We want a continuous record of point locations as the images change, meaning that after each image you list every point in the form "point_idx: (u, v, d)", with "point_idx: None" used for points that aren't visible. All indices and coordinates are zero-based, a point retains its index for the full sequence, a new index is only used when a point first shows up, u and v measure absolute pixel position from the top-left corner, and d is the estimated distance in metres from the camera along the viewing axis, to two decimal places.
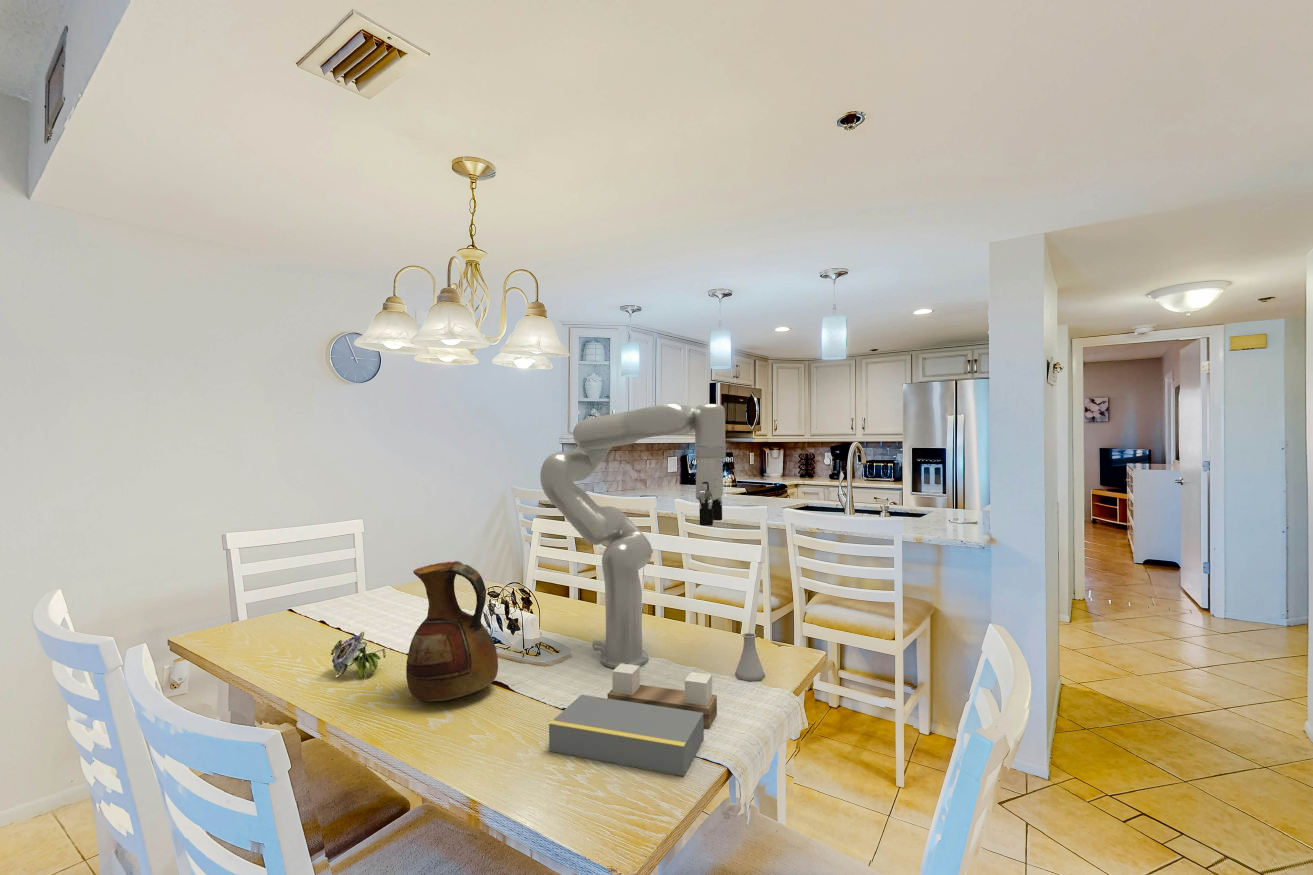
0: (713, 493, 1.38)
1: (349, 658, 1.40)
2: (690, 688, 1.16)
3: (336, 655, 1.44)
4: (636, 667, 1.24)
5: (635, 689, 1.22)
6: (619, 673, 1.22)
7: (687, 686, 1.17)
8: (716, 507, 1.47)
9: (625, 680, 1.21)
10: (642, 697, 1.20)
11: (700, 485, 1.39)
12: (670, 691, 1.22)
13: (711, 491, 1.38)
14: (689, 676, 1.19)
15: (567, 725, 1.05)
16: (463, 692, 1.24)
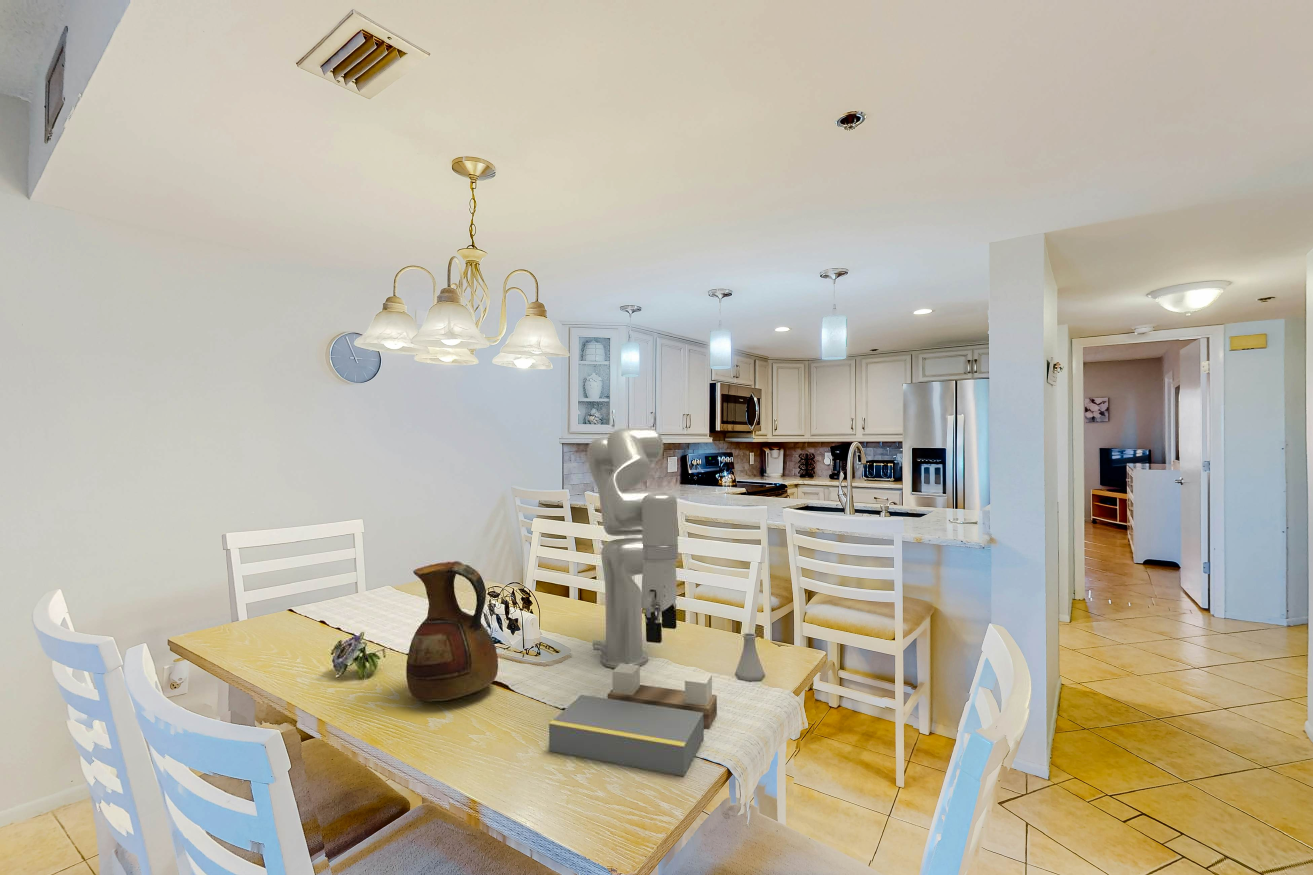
0: (662, 604, 1.16)
1: (348, 658, 1.40)
2: (690, 688, 1.16)
3: (336, 655, 1.44)
4: (636, 667, 1.24)
5: (635, 689, 1.22)
6: (619, 673, 1.22)
7: (687, 686, 1.17)
8: (669, 613, 1.25)
9: (625, 680, 1.21)
10: (642, 697, 1.20)
11: (646, 593, 1.16)
12: (670, 691, 1.22)
13: (659, 601, 1.15)
14: (689, 676, 1.19)
15: (567, 725, 1.05)
16: (463, 692, 1.24)
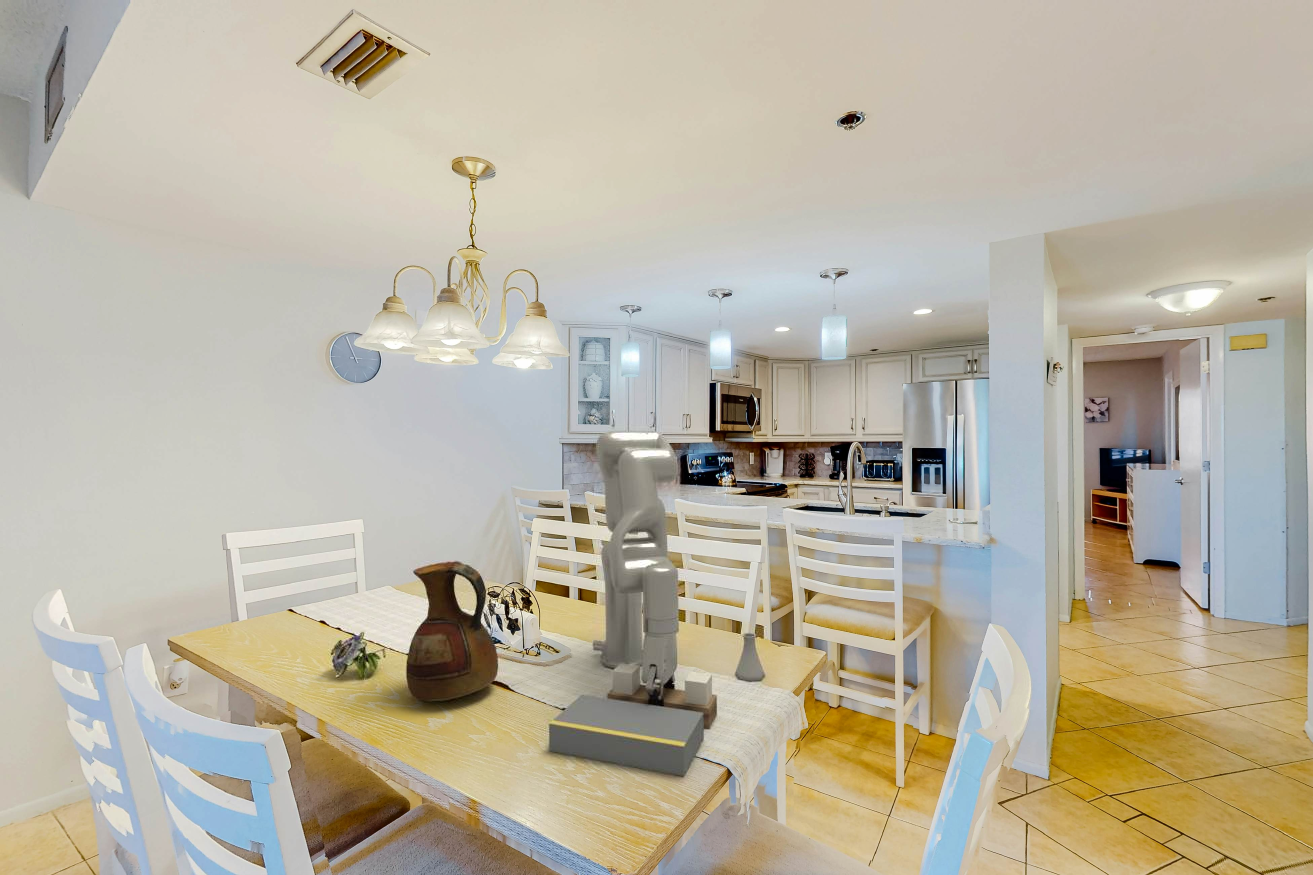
0: (662, 678, 1.16)
1: (348, 658, 1.40)
2: (690, 687, 1.16)
3: (336, 655, 1.44)
4: (636, 667, 1.24)
5: (635, 689, 1.22)
6: (619, 673, 1.22)
7: (687, 686, 1.17)
8: (667, 687, 1.24)
9: (625, 680, 1.21)
10: (642, 696, 1.20)
11: (647, 667, 1.16)
12: (670, 691, 1.22)
13: (660, 676, 1.16)
14: (689, 676, 1.19)
15: (567, 725, 1.05)
16: (463, 692, 1.24)
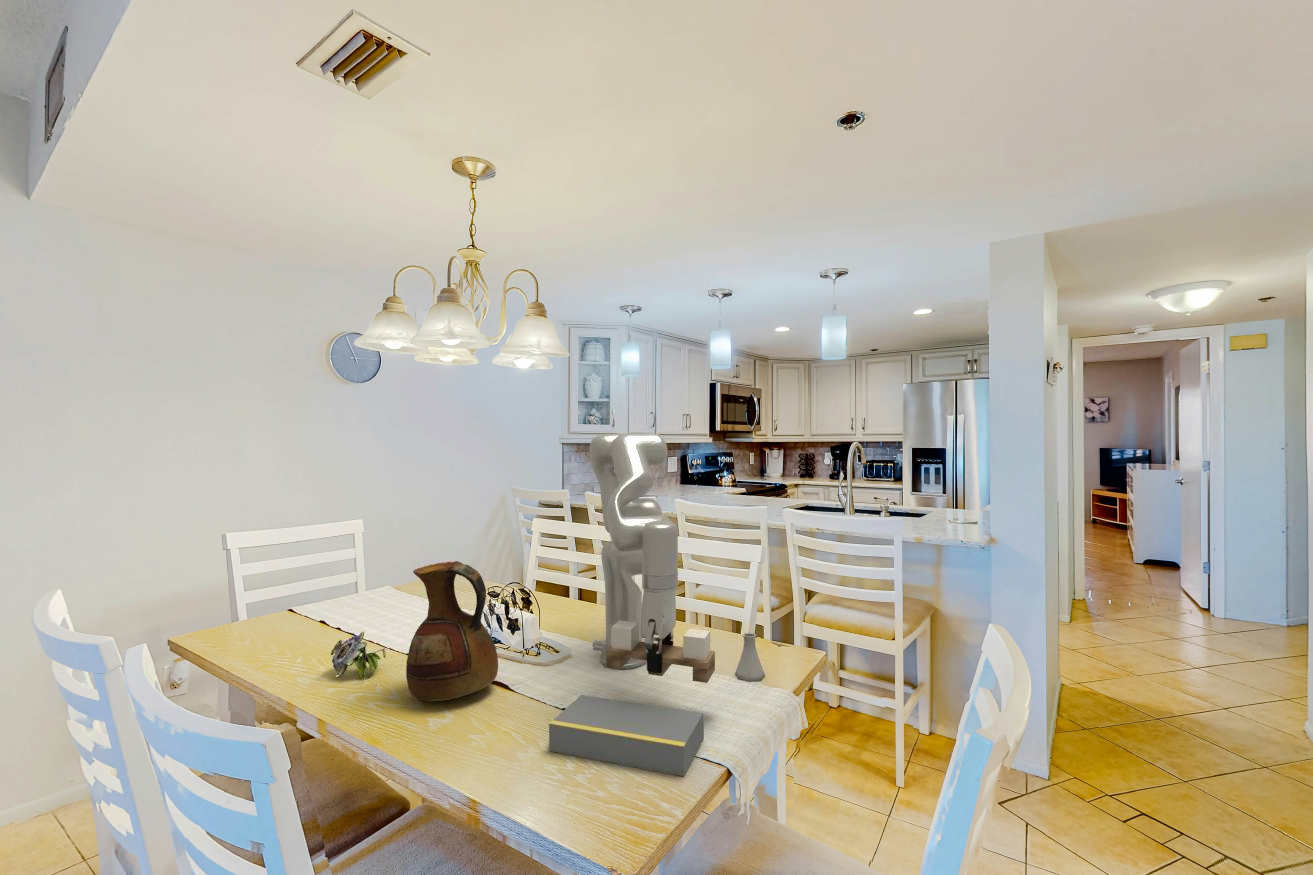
0: (661, 633, 1.16)
1: (348, 658, 1.40)
2: (688, 643, 1.17)
3: (336, 655, 1.44)
4: (635, 624, 1.25)
5: (634, 645, 1.23)
6: (618, 629, 1.22)
7: (685, 641, 1.17)
8: (666, 644, 1.24)
9: (624, 636, 1.22)
10: (640, 652, 1.20)
11: (646, 623, 1.17)
12: (669, 647, 1.23)
13: (658, 631, 1.16)
14: (688, 632, 1.19)
15: (567, 725, 1.05)
16: (463, 692, 1.24)
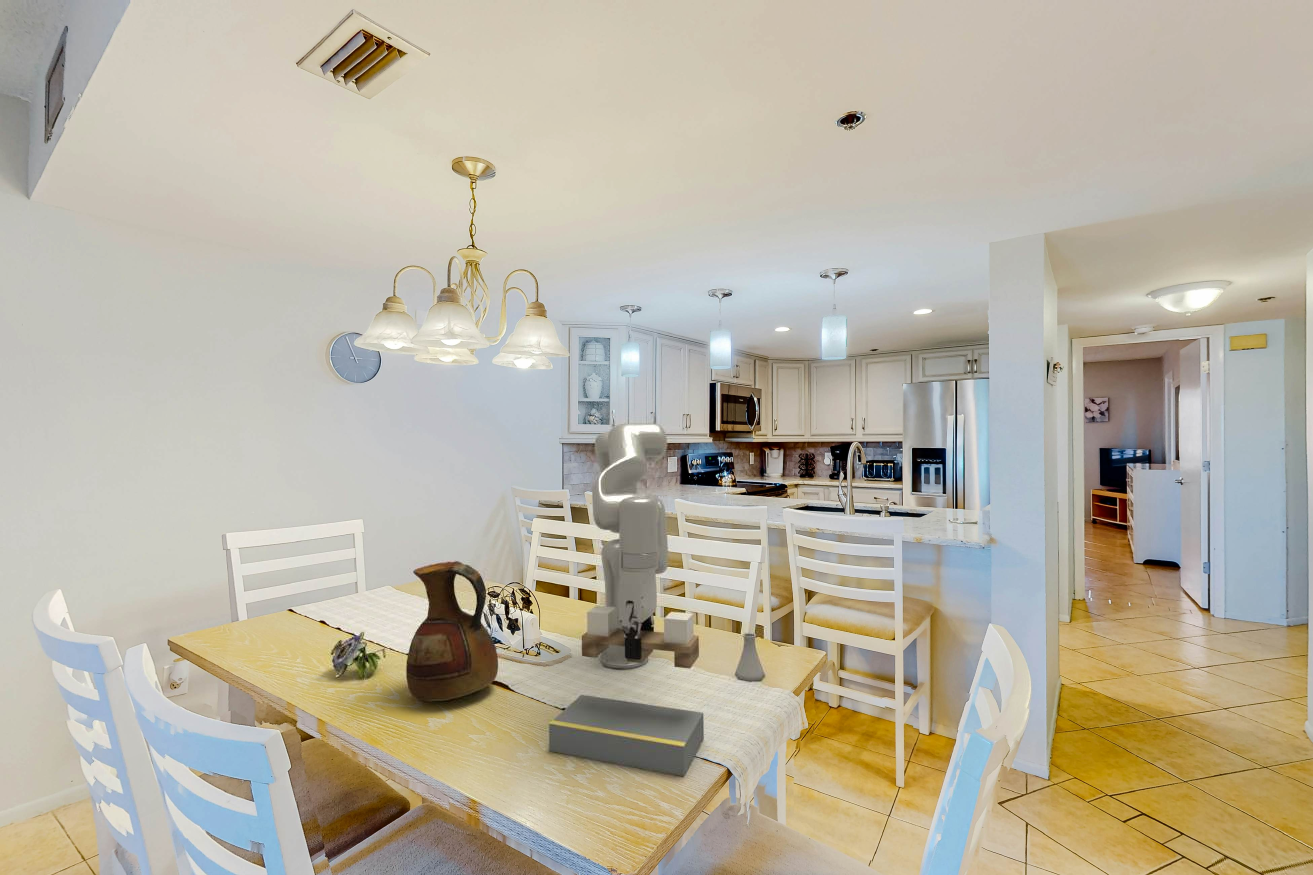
0: (639, 616, 1.08)
1: (348, 658, 1.40)
2: (669, 626, 1.08)
3: (336, 655, 1.44)
4: (613, 608, 1.16)
5: (611, 631, 1.14)
6: (594, 613, 1.13)
7: (666, 624, 1.09)
8: (646, 630, 1.16)
9: (600, 621, 1.13)
10: (618, 637, 1.11)
11: (623, 605, 1.08)
12: (649, 633, 1.14)
13: (637, 613, 1.08)
14: (669, 615, 1.11)
15: (567, 725, 1.05)
16: (463, 692, 1.24)
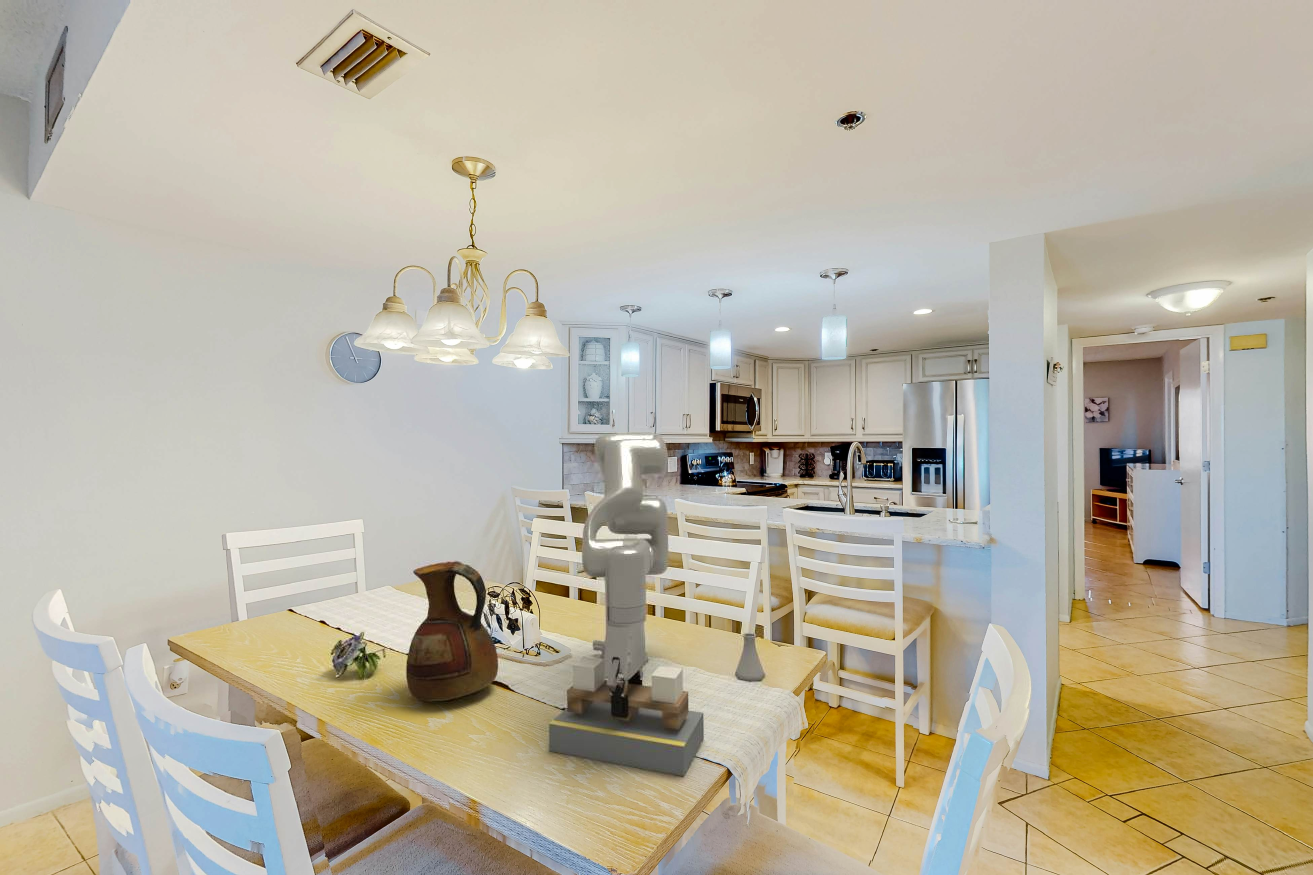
0: (626, 673, 1.03)
1: (348, 658, 1.40)
2: (657, 683, 1.04)
3: (336, 655, 1.44)
4: (600, 660, 1.12)
5: (598, 685, 1.10)
6: (580, 667, 1.09)
7: (654, 682, 1.04)
8: (634, 683, 1.11)
9: (586, 675, 1.09)
10: (604, 693, 1.07)
11: (609, 661, 1.04)
12: (637, 687, 1.10)
13: (623, 670, 1.03)
14: (657, 670, 1.06)
15: (567, 725, 1.05)
16: (463, 692, 1.24)
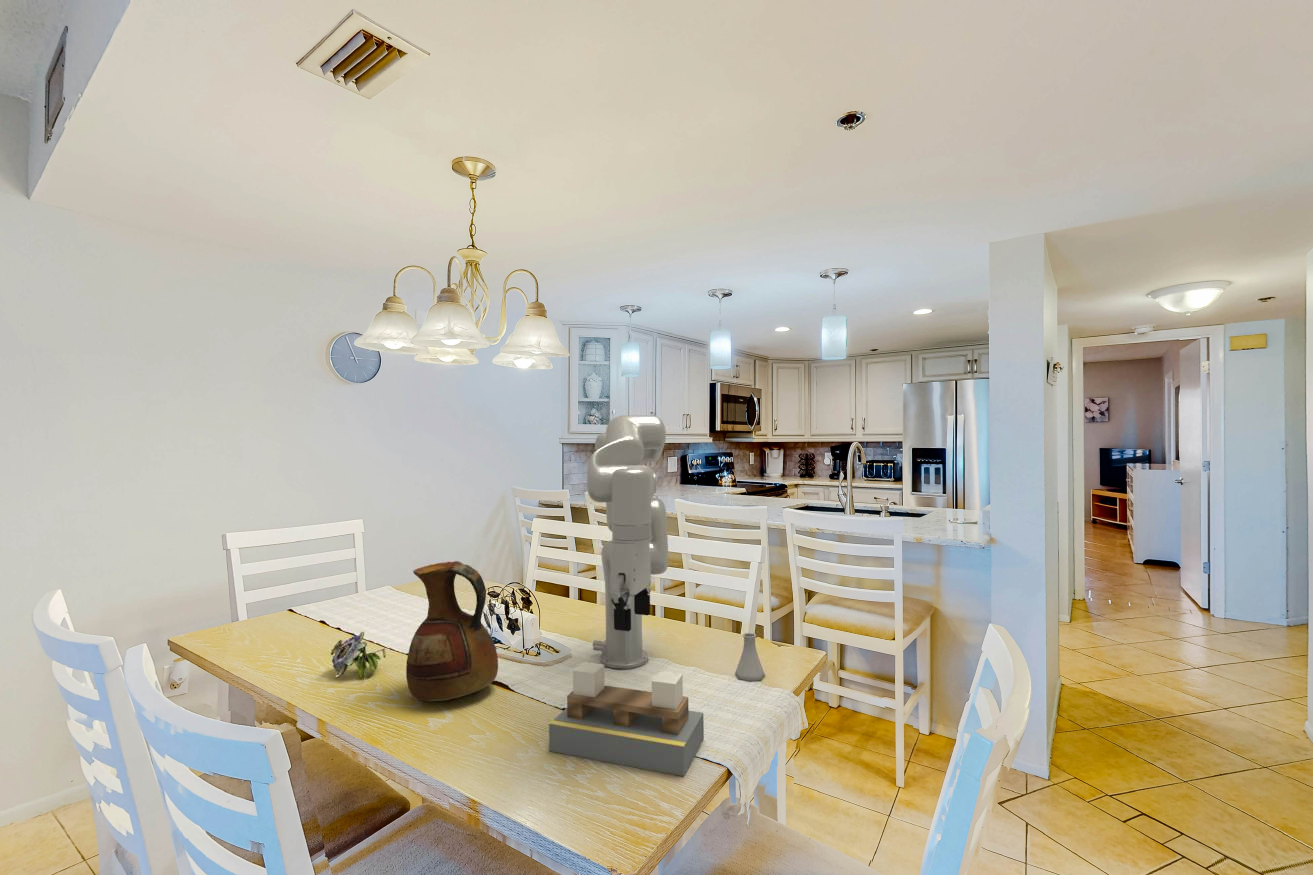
0: (631, 588, 1.05)
1: (348, 658, 1.40)
2: (657, 689, 1.04)
3: (336, 655, 1.44)
4: (600, 666, 1.12)
5: (598, 690, 1.10)
6: (580, 673, 1.09)
7: (654, 687, 1.04)
8: (642, 598, 1.14)
9: (587, 681, 1.09)
10: (605, 699, 1.07)
11: (615, 577, 1.06)
12: (637, 693, 1.10)
13: (628, 586, 1.05)
14: (657, 676, 1.06)
15: (567, 725, 1.05)
16: (463, 692, 1.24)
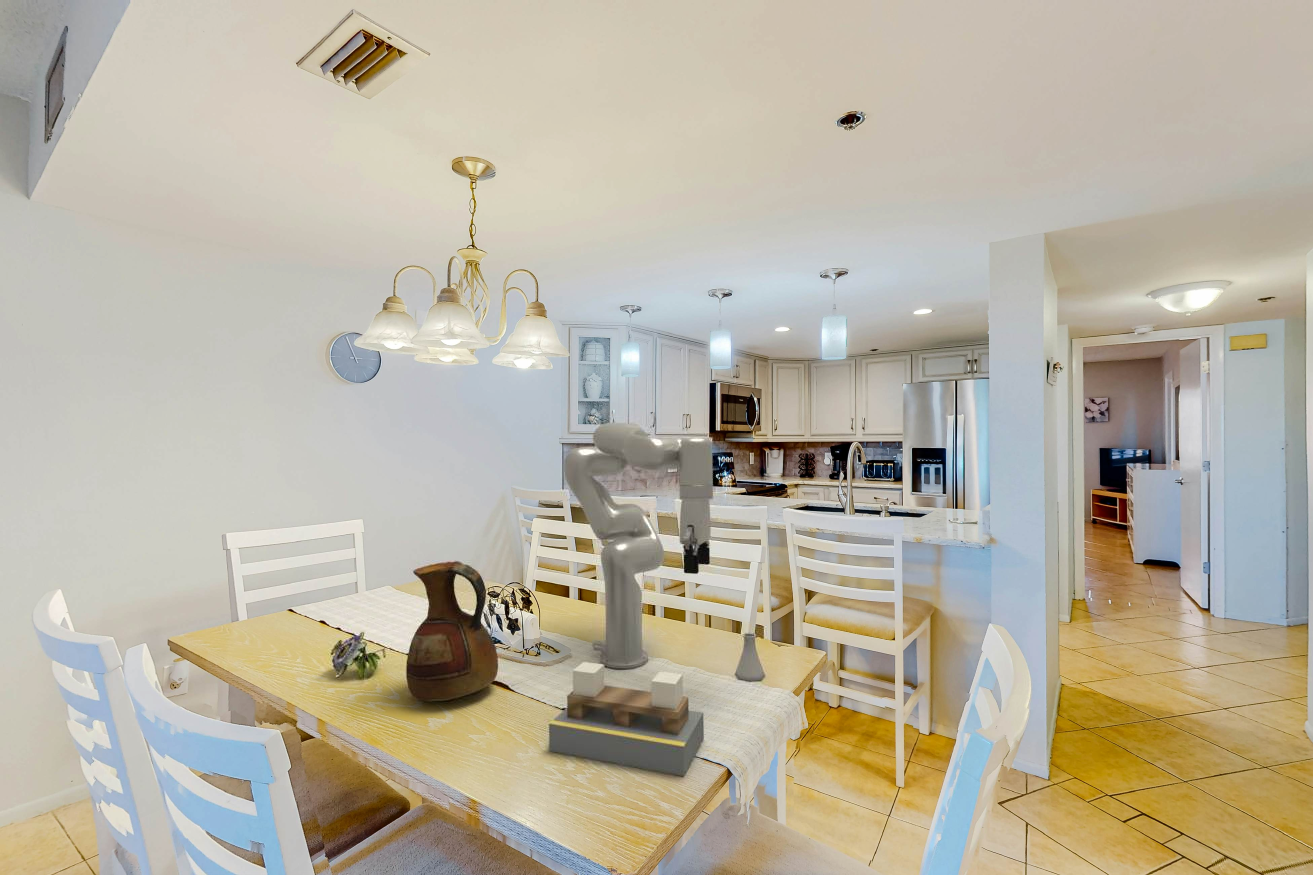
0: (699, 538, 1.25)
1: (348, 658, 1.40)
2: (657, 689, 1.04)
3: (336, 655, 1.44)
4: (600, 666, 1.12)
5: (598, 690, 1.10)
6: (580, 673, 1.09)
7: (654, 687, 1.04)
8: (703, 550, 1.34)
9: (587, 681, 1.09)
10: (605, 699, 1.07)
11: (684, 528, 1.25)
12: (637, 693, 1.10)
13: (696, 535, 1.25)
14: (657, 676, 1.06)
15: (567, 725, 1.05)
16: (463, 692, 1.24)
